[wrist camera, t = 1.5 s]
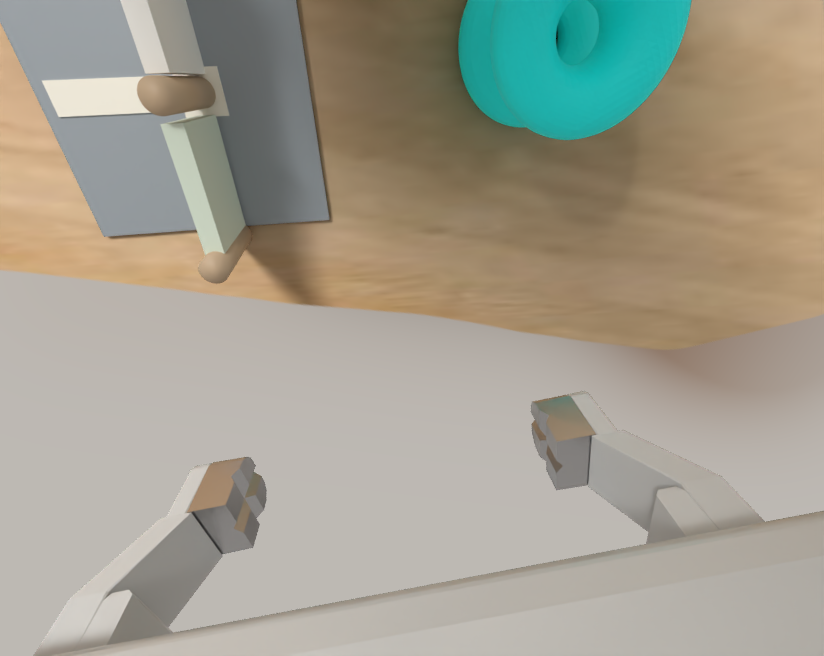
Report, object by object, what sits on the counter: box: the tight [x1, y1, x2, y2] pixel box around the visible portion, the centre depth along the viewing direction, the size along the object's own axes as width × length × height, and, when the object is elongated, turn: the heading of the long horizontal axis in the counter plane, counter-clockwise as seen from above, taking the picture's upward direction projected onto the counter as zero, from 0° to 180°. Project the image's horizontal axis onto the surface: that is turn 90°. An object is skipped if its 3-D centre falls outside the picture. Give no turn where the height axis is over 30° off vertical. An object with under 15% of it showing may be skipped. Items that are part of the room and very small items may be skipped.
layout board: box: [0, 0, 329, 237], centre depth 25 cm, size 19×17×1 cm
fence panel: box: [160, 115, 252, 283], centre depth 26 cm, size 9×2×7 cm, turn 2°
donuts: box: [458, 0, 691, 140], centre depth 23 cm, size 10×10×10 cm
